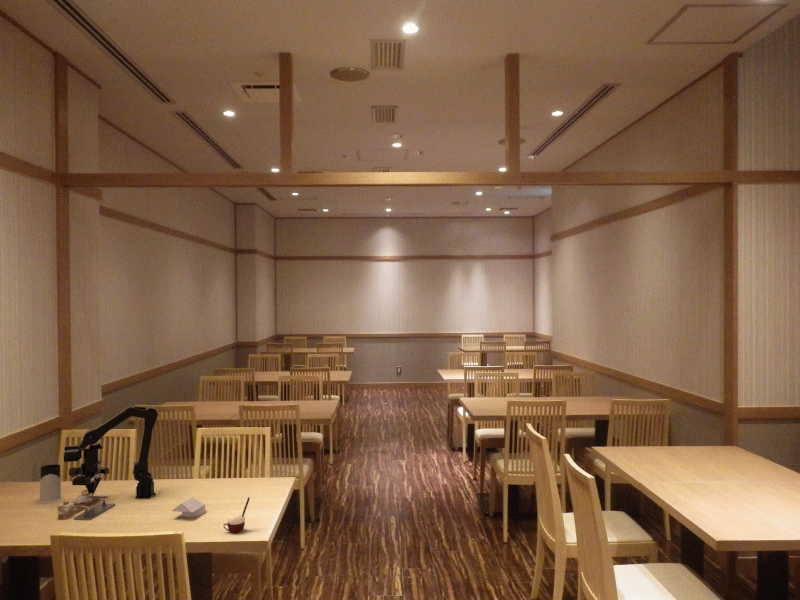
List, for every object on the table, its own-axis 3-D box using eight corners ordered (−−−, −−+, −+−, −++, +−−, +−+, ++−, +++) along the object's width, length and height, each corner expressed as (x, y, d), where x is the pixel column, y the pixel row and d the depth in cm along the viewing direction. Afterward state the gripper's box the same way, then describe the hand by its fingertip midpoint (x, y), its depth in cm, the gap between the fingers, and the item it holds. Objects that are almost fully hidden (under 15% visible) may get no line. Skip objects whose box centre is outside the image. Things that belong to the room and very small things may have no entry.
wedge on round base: (192, 521, 240) (209, 510, 253) (192, 503, 240) (209, 493, 253) (171, 519, 242) (189, 508, 255) (171, 502, 242) (189, 492, 255)
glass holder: (37, 505, 260) (37, 470, 260) (41, 496, 273) (41, 462, 273) (61, 502, 264) (61, 467, 264) (63, 493, 277) (63, 460, 277)
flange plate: (115, 505, 260) (115, 503, 260) (90, 520, 242) (90, 517, 242) (99, 505, 260) (99, 502, 260) (74, 519, 242) (74, 517, 242)
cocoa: (222, 535, 226) (220, 503, 225) (228, 528, 232) (226, 497, 232) (247, 534, 225) (246, 502, 225) (252, 527, 232) (250, 496, 231)
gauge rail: (118, 500, 266) (117, 484, 266) (85, 520, 242) (85, 502, 242) (91, 500, 267) (91, 484, 267) (57, 519, 243) (57, 502, 243)
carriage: (109, 502, 259) (109, 489, 259) (104, 506, 255) (104, 492, 255) (83, 502, 260) (83, 488, 260) (77, 505, 256) (77, 492, 256)
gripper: (85, 454, 272) (85, 489, 272) (59, 465, 254) (59, 502, 254) (109, 454, 272) (110, 489, 272) (85, 465, 253) (85, 503, 253)
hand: (91, 496), depth 262 cm, fingers closed
